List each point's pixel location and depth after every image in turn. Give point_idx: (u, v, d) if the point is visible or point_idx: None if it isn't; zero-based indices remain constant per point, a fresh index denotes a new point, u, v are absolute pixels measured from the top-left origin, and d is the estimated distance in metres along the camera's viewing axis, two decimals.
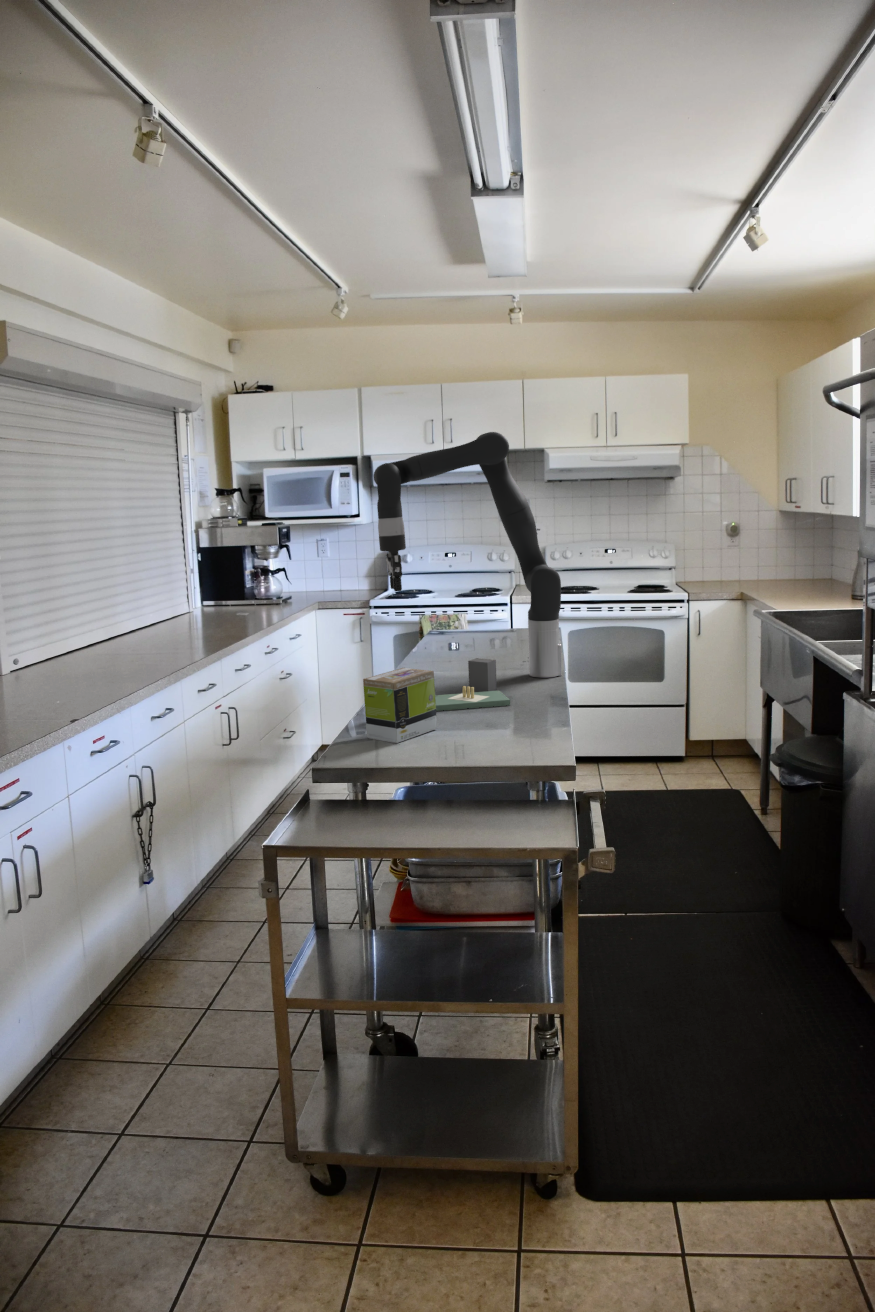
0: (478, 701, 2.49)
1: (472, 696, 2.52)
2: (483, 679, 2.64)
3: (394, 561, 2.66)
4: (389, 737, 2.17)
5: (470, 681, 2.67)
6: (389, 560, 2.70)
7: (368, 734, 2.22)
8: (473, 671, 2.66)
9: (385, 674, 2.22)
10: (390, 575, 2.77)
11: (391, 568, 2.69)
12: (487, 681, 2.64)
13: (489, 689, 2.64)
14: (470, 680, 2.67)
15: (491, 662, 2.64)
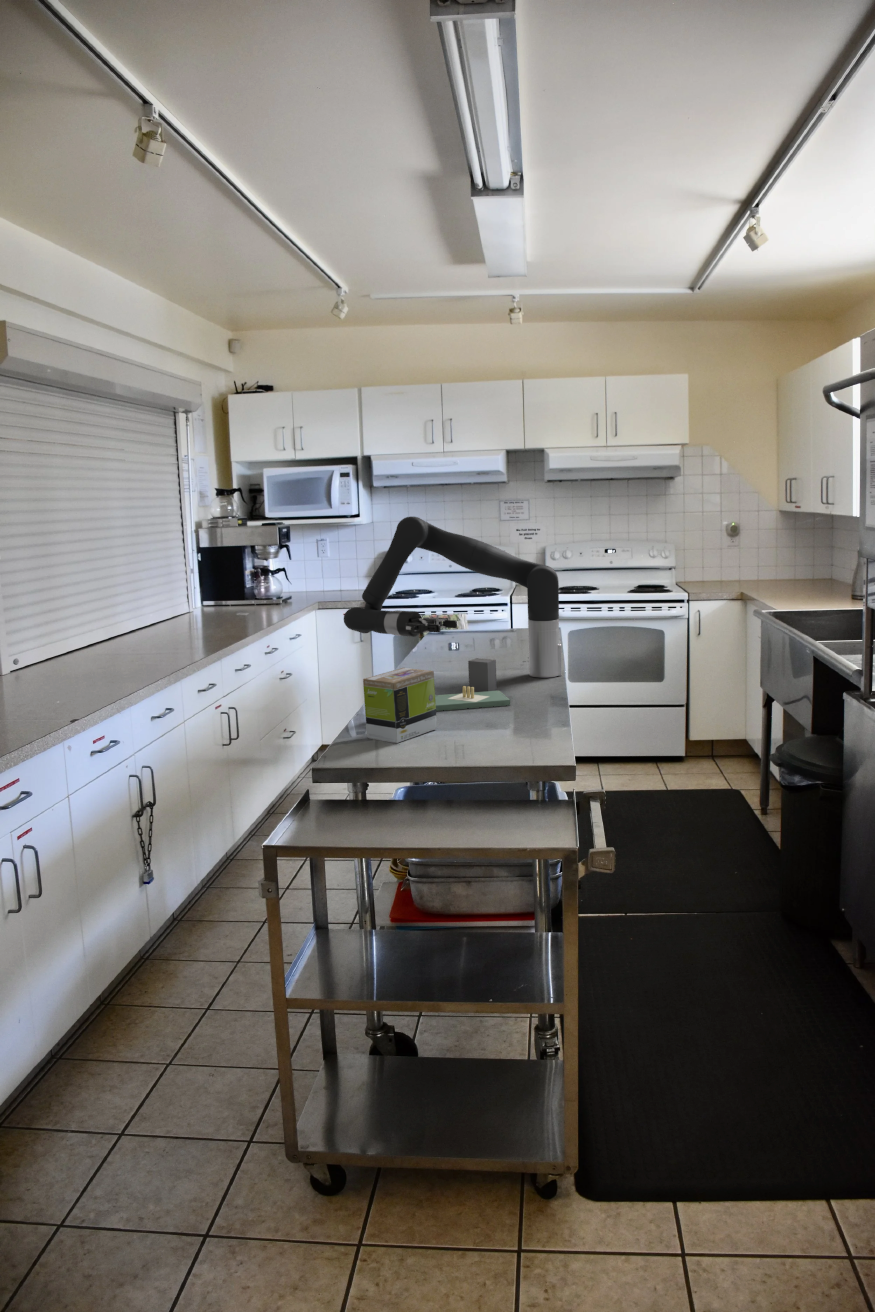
0: (478, 701, 2.49)
1: (472, 696, 2.52)
2: (483, 679, 2.64)
3: (409, 630, 2.70)
4: (389, 737, 2.17)
5: (470, 681, 2.67)
6: None
7: (368, 734, 2.22)
8: (473, 671, 2.66)
9: (385, 674, 2.22)
10: None
11: None
12: (487, 681, 2.64)
13: (489, 689, 2.64)
14: (470, 680, 2.67)
15: (491, 662, 2.64)
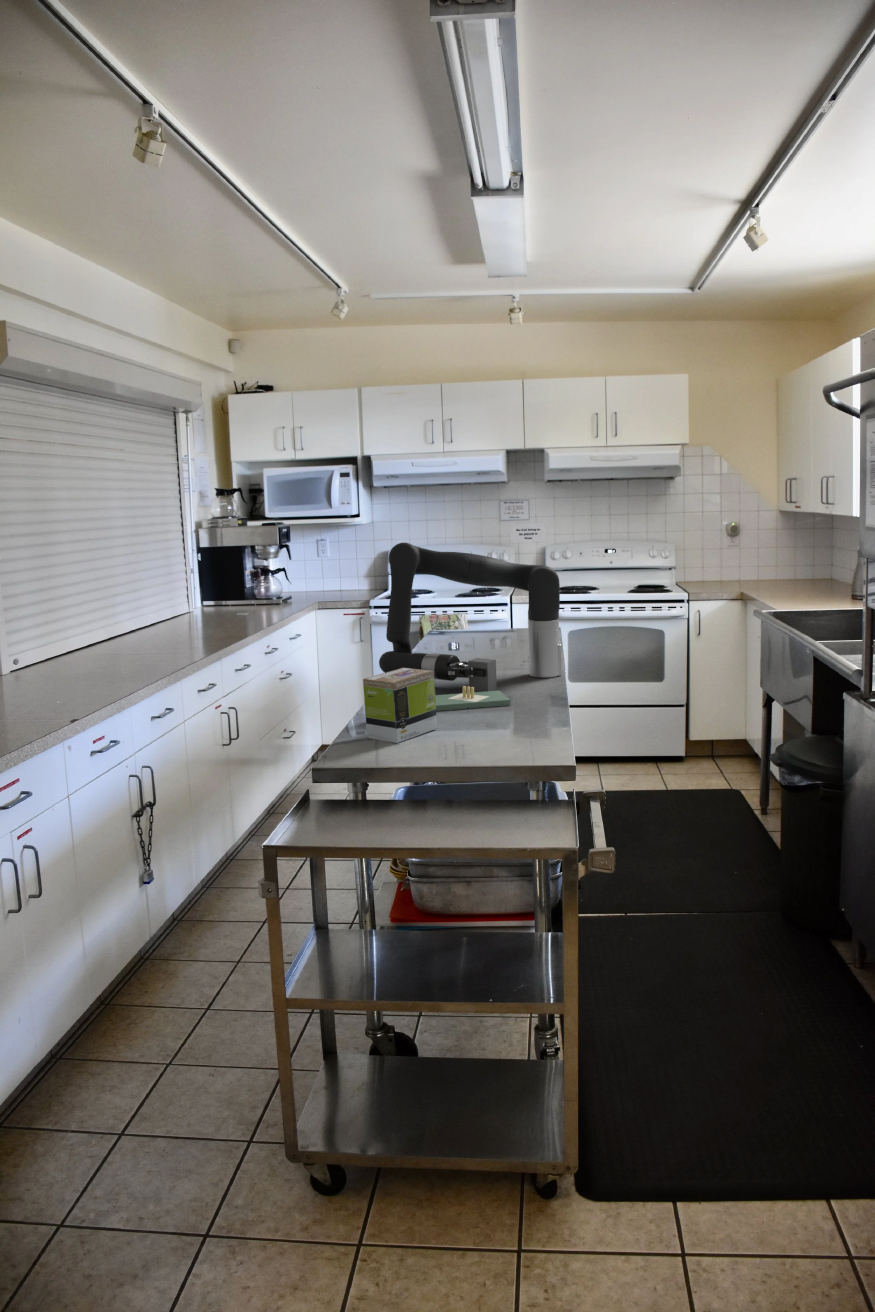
0: (478, 701, 2.49)
1: (472, 696, 2.52)
2: (483, 679, 2.64)
3: (453, 675, 2.65)
4: (389, 737, 2.17)
5: (470, 681, 2.67)
6: None
7: (368, 734, 2.22)
8: None
9: (385, 674, 2.22)
10: None
11: None
12: (487, 681, 2.64)
13: (489, 689, 2.64)
14: (470, 680, 2.67)
15: (491, 662, 2.64)
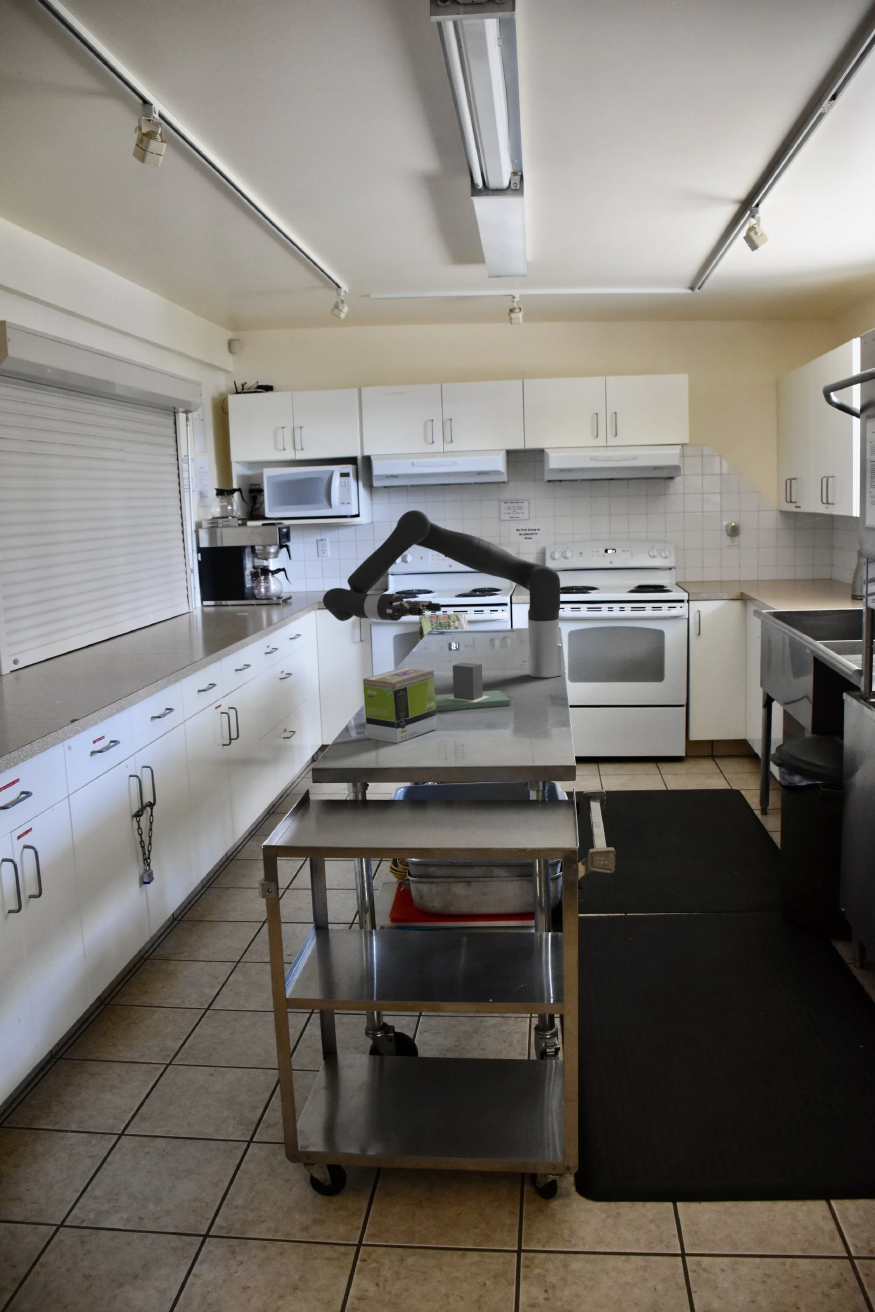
0: (478, 701, 2.49)
1: None
2: (468, 684, 2.50)
3: (390, 613, 2.55)
4: (389, 737, 2.17)
5: (455, 687, 2.53)
6: None
7: (368, 734, 2.22)
8: (458, 676, 2.51)
9: (385, 674, 2.22)
10: (428, 609, 2.61)
11: None
12: (472, 687, 2.49)
13: (474, 695, 2.50)
14: (455, 686, 2.53)
15: (477, 667, 2.50)
